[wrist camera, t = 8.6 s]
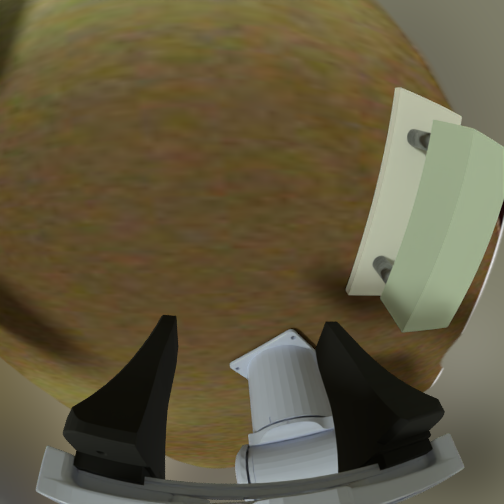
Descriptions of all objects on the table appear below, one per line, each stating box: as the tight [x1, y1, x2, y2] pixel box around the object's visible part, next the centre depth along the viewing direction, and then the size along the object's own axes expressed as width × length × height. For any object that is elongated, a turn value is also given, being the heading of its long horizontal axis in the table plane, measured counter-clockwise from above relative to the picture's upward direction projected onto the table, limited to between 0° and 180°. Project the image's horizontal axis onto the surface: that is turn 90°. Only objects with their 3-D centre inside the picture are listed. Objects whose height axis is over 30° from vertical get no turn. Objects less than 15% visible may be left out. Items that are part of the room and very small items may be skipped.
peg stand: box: [346, 88, 462, 295], centre depth 19 cm, size 18×7×4 cm, turn 173°
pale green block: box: [380, 120, 504, 332], centre depth 16 cm, size 14×5×4 cm, turn 173°
